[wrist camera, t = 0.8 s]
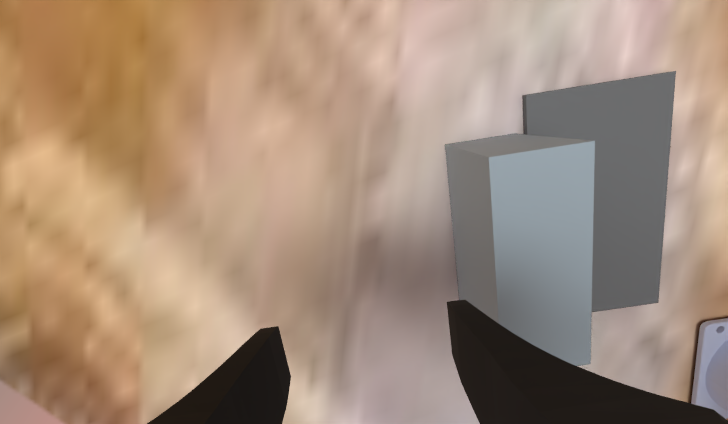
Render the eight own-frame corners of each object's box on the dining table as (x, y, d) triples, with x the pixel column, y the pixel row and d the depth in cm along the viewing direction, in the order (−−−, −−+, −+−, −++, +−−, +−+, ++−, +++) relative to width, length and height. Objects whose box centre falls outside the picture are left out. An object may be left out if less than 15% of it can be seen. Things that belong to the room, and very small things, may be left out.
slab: (514, 133, 20) (594, 140, 13) (520, 289, 22) (590, 364, 16) (444, 144, 20) (488, 157, 13) (458, 298, 22) (501, 376, 16)
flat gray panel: (669, 72, 19) (675, 71, 18) (653, 299, 22) (658, 302, 22) (522, 95, 19) (525, 95, 19) (530, 316, 23) (532, 320, 22)
